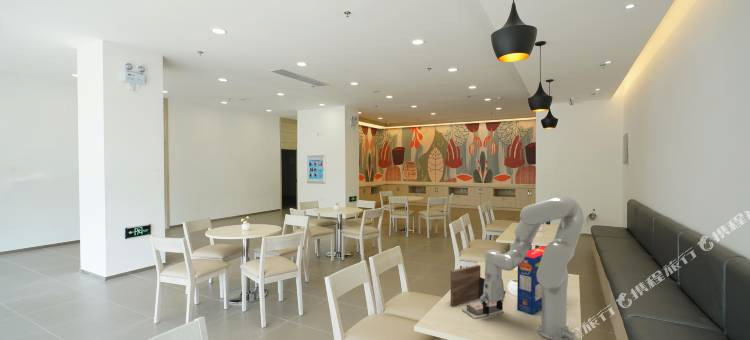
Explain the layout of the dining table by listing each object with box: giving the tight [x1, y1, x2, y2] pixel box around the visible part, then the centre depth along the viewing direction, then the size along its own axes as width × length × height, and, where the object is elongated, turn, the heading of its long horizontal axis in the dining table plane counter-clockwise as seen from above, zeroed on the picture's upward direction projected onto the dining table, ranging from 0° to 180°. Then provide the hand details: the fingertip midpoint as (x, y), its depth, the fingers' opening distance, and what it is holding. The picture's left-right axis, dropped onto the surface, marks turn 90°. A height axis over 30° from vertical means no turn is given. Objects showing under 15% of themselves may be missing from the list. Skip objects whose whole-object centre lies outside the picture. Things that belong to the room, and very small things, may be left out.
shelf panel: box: [450, 264, 481, 308], centre depth 189 cm, size 2×20×18 cm, turn 122°
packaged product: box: [461, 301, 505, 320], centre depth 177 cm, size 18×5×10 cm
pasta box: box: [516, 245, 546, 316], centre depth 185 cm, size 28×8×28 cm, turn 132°
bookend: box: [478, 276, 497, 302], centre depth 190 cm, size 10×6×12 cm, turn 32°
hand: (492, 311), depth 172 cm, fingers open, 9 cm apart
